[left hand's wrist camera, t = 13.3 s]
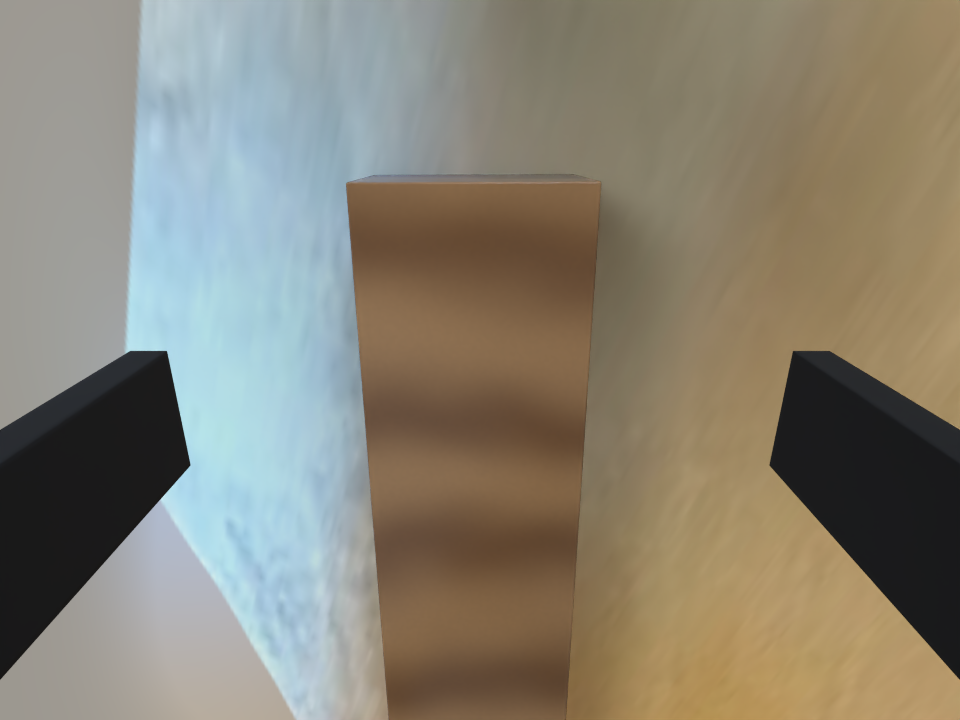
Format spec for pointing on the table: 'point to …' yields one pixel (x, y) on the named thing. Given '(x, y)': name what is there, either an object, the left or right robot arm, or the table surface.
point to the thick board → (475, 431)
